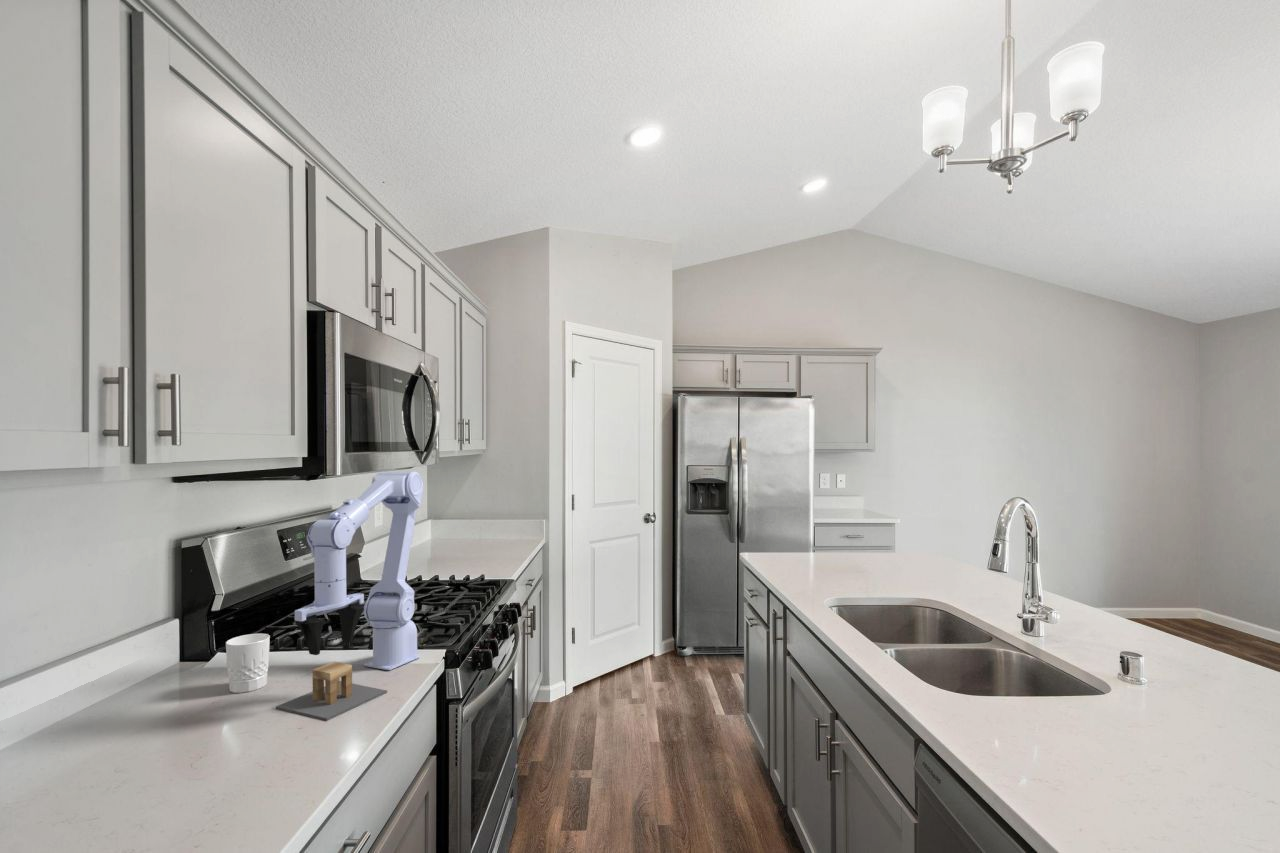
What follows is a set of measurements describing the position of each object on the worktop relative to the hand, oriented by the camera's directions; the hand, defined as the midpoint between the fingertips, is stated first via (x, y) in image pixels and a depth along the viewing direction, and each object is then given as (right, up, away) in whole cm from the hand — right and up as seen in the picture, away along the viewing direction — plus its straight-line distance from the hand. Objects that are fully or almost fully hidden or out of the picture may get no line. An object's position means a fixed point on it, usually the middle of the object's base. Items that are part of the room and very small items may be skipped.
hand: (331, 648), depth 126 cm
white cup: (-21, -11, +6) cm, 24 cm away
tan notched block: (+1, -9, -1) cm, 10 cm away
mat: (+1, -10, -2) cm, 10 cm away
